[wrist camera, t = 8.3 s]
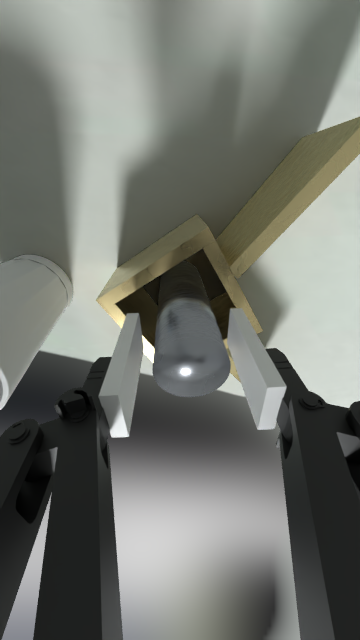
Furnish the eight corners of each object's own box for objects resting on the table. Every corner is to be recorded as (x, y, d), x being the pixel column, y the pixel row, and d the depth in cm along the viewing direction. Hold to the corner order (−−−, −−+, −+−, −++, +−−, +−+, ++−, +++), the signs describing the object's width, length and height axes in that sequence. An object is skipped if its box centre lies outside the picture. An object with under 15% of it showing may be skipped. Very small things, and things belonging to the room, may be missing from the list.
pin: (152, 274, 22) (136, 362, 11) (187, 251, 21) (207, 324, 10) (174, 304, 24) (179, 406, 13) (207, 285, 23) (243, 377, 12)
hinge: (114, 265, 21) (92, 296, 15) (306, 134, 17) (382, 106, 11) (209, 384, 30) (219, 434, 24) (353, 318, 25) (410, 360, 19)
